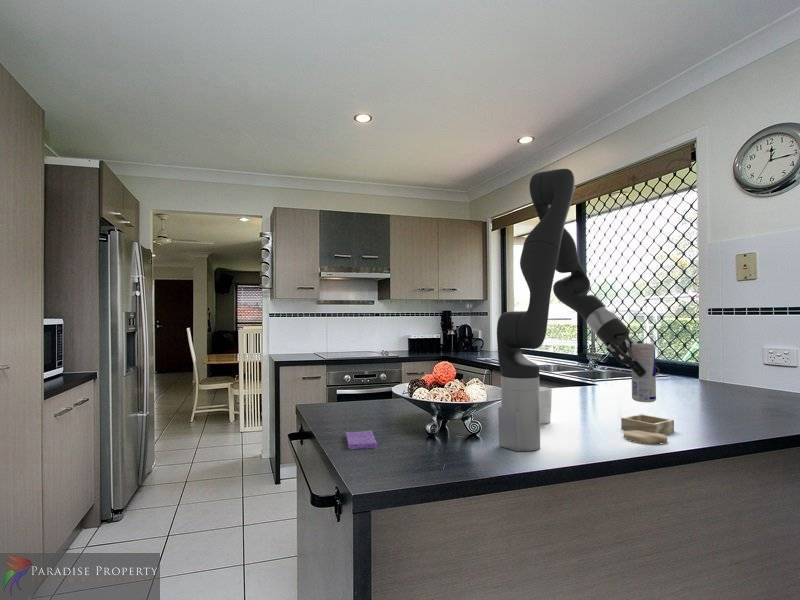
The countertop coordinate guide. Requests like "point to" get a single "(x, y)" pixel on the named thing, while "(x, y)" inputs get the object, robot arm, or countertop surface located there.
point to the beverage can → (647, 384)
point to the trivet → (645, 437)
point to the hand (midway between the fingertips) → (650, 373)
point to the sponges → (361, 440)
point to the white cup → (545, 404)
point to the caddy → (647, 424)
